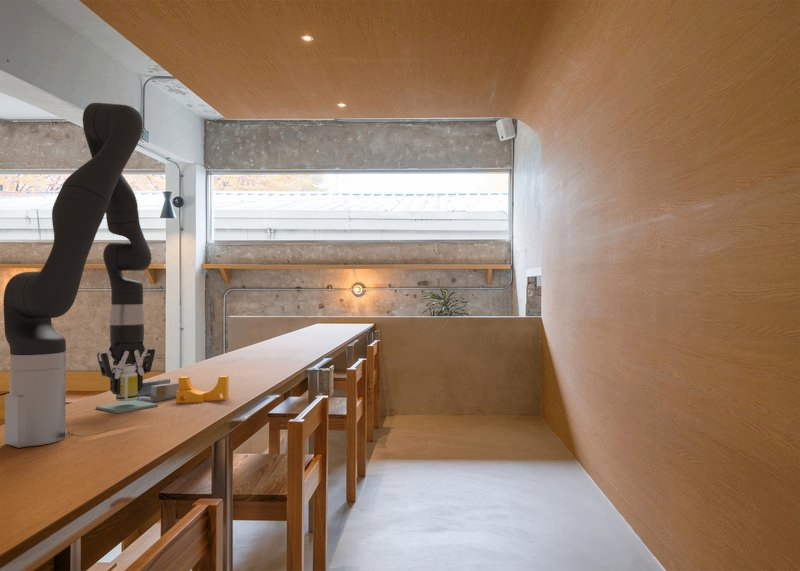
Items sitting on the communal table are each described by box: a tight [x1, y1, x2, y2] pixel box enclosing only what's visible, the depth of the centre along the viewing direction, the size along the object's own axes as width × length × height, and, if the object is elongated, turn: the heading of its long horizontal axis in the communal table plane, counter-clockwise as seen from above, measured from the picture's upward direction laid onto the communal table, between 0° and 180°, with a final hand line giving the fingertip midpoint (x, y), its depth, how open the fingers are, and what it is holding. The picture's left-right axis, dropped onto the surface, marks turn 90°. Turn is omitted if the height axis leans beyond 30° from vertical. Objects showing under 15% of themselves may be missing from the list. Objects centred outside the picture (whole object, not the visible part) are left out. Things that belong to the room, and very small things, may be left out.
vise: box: [136, 378, 179, 403], centre depth 152 cm, size 14×18×4 cm
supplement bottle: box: [115, 364, 138, 402], centre depth 136 cm, size 5×5×8 cm
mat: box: [95, 400, 159, 414], centre depth 136 cm, size 10×10×1 cm
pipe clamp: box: [175, 375, 229, 404], centre depth 143 cm, size 12×4×6 cm, turn 95°
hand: (126, 392), depth 136 cm, fingers closed on supplement bottle, 4 cm apart
